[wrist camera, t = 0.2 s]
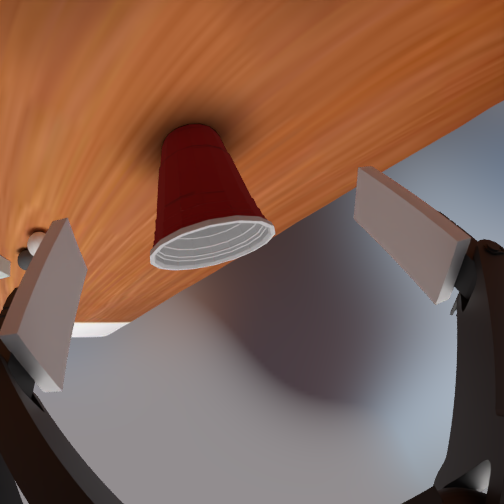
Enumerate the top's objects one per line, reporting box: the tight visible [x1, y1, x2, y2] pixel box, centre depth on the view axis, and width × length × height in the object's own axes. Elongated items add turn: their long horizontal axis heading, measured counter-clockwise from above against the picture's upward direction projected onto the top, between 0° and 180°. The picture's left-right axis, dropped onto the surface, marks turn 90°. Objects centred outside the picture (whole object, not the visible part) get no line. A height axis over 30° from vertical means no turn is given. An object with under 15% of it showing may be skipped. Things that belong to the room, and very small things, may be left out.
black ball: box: [18, 250, 33, 270], centre depth 39 cm, size 3×3×3 cm
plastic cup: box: [150, 124, 275, 270], centre depth 29 cm, size 11×11×12 cm
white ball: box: [27, 232, 45, 256], centre depth 36 cm, size 4×4×4 cm
